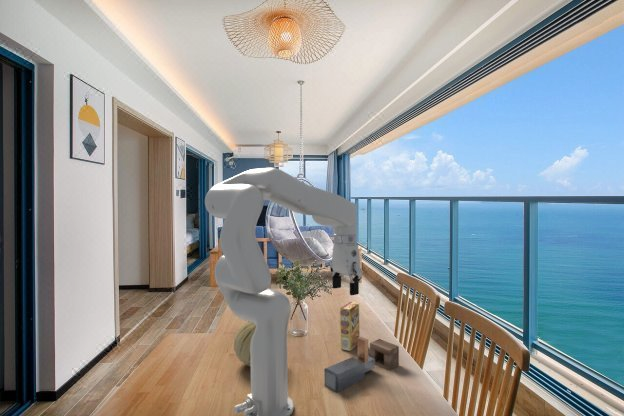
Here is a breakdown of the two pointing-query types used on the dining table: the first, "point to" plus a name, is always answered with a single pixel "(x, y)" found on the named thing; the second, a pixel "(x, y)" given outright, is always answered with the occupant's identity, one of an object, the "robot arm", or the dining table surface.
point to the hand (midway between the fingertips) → (345, 291)
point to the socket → (384, 353)
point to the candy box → (349, 325)
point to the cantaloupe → (244, 342)
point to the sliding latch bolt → (365, 354)
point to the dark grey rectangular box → (344, 374)
